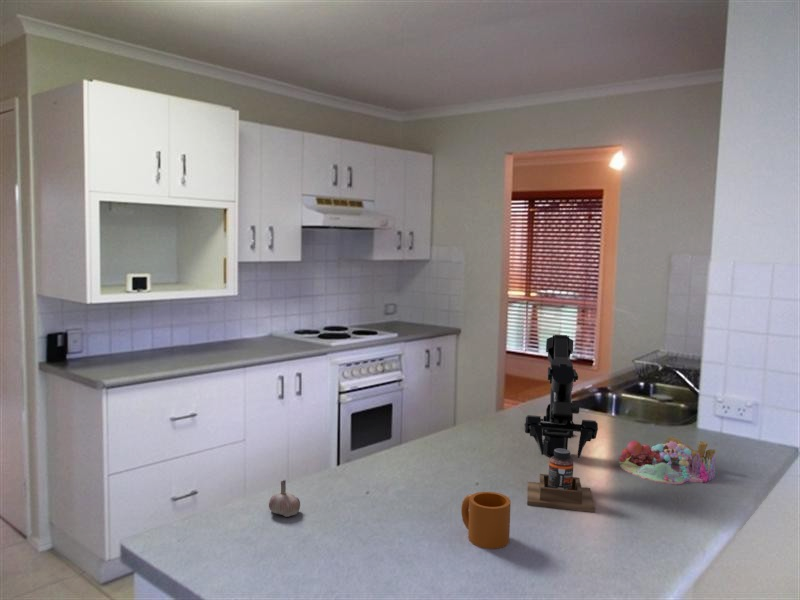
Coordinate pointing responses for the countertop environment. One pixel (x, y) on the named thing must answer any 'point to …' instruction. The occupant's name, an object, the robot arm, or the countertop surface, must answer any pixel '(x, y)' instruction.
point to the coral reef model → (669, 462)
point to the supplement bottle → (560, 470)
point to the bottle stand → (560, 495)
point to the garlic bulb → (284, 502)
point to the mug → (487, 519)
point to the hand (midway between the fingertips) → (560, 456)
